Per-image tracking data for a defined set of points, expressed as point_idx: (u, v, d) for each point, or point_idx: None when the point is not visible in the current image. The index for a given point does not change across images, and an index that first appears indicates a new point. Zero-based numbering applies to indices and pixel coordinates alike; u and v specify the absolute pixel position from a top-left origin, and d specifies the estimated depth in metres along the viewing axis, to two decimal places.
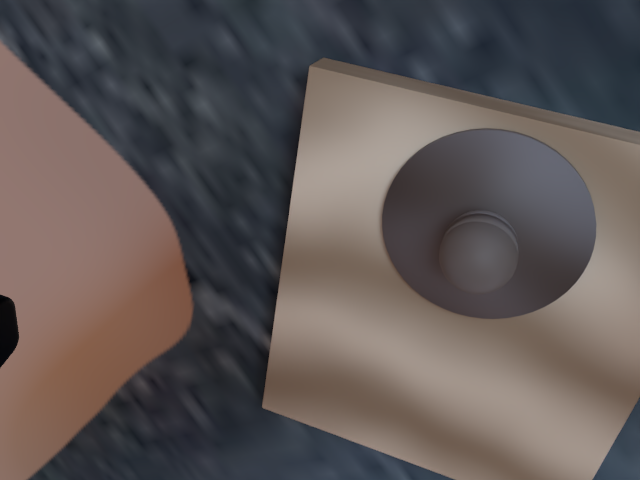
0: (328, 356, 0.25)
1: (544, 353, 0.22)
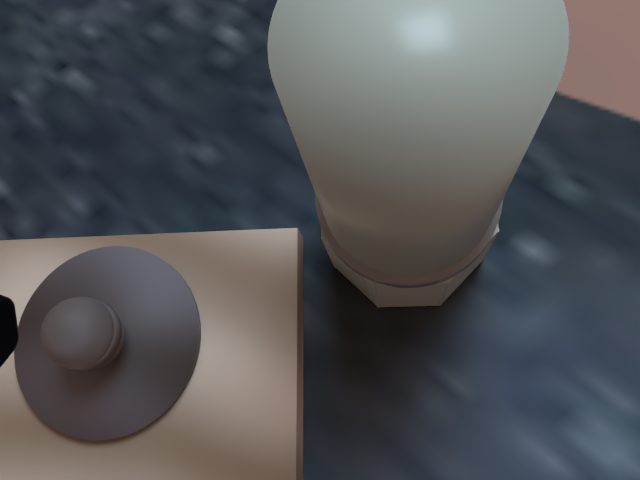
0: None
1: (193, 462, 0.21)
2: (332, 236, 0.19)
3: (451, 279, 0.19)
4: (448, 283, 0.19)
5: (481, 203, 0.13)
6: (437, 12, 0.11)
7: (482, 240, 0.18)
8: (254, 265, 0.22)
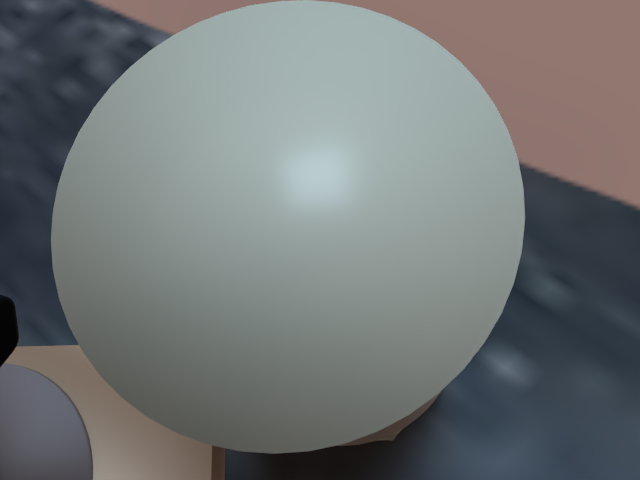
0: None
1: None
2: None
3: (395, 434, 0.14)
4: (392, 439, 0.14)
5: None
6: (318, 165, 0.07)
7: None
8: None
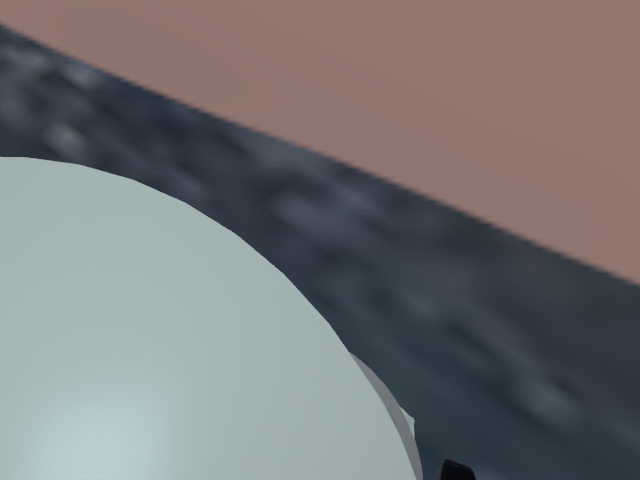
0: None
1: None
2: None
3: None
4: None
5: None
6: None
7: None
8: None
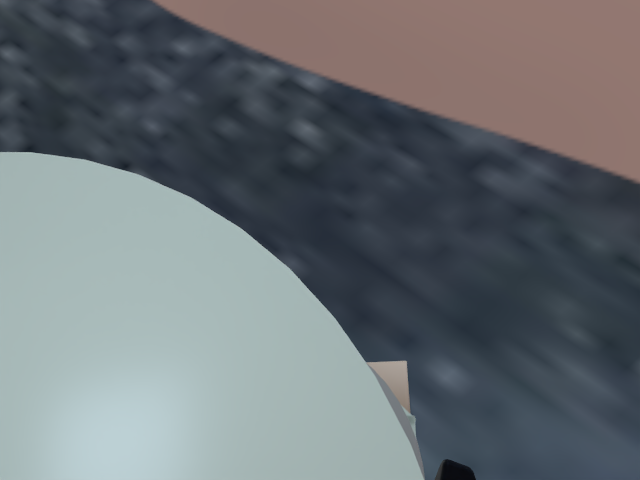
0: None
1: None
2: None
3: None
4: None
5: None
6: None
7: None
8: None
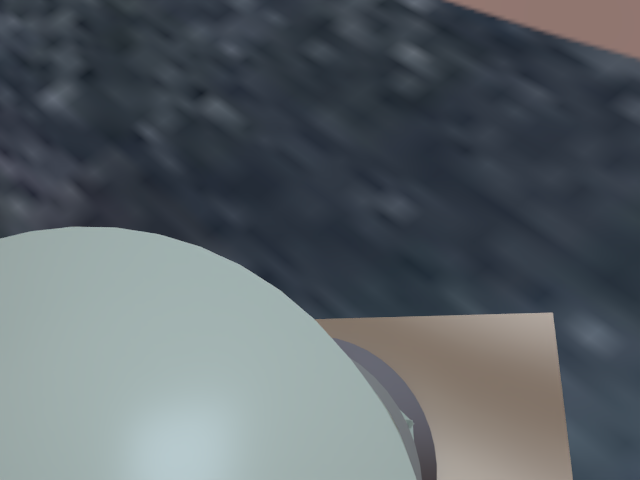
0: None
1: None
2: None
3: None
4: None
5: None
6: None
7: None
8: (498, 363, 0.17)
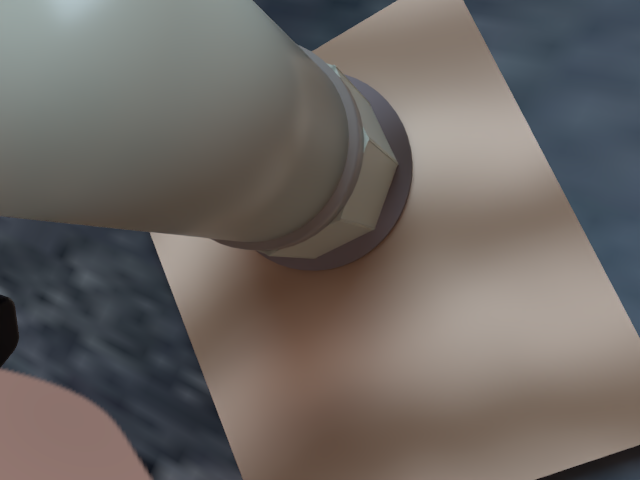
0: (292, 423, 0.21)
1: (455, 237, 0.20)
2: None
3: (341, 213, 0.16)
4: (339, 219, 0.16)
5: (242, 160, 0.11)
6: None
7: (347, 161, 0.16)
8: (421, 30, 0.20)
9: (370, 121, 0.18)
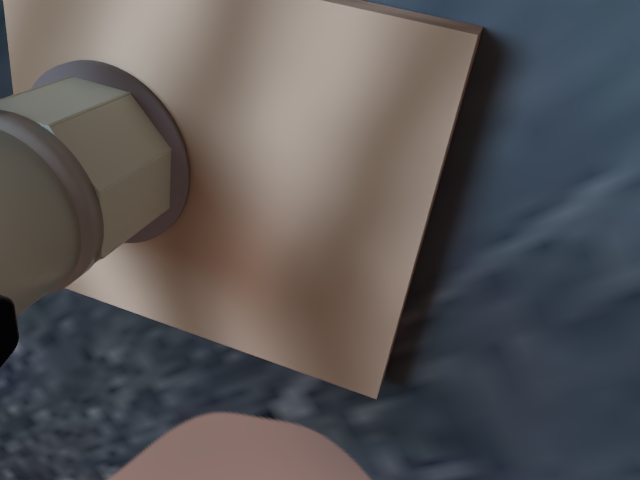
0: (283, 313, 0.23)
1: (214, 93, 0.20)
2: None
3: (96, 188, 0.18)
4: (100, 192, 0.18)
5: None
6: None
7: (45, 160, 0.17)
8: None
9: (63, 99, 0.19)
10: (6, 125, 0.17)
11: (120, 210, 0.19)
